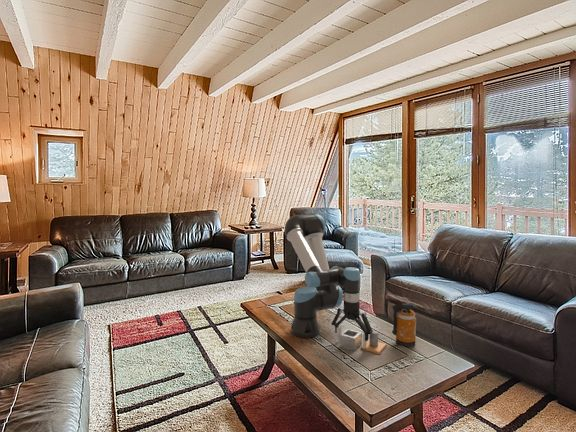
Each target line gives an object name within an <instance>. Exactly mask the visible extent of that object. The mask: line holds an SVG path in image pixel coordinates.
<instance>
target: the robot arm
mask: <svg viewBox="0 0 576 432" xmlns="http://www.w3.org/2000/svg"><path fill="white" fill-rule="evenodd" d="M325 231H326V220H325V219H324V217H323V216H322V215H320V214H319V213H310V214H294V215H292V216H291V217H289V218H288V219H287V221H286V222H285V224H284V235H285V238H286V239H287V241H289V242H290V243H291V245H292V247H293V249H294V251H295V253H296V255H297V257H298V259H299V261H300V263H301V265H302V267H303V269H304V271H305V275H304V281H305V285H304V286H300V287H299V288H297V289H296V290H295V291H294V295H293V306H294V307H293V308H294V310H293V313H294V314H293V315H294V316H293V317H294V318H293V321H292V324H291V327H290V331H291V334H292V335H293V336H294V337H297V338H301V339H303V338H304V339H309V338H315V337H317V336H319V334H320V333H321V328H320V324H319V321H318V317H317V316H318V315H317V312H321V311H325V310H326V311H327V310H331V309H335V308H337V312H336V314H335V316H334V318H333V320H332V322H331V325H332V326H334V333H335V334H336V341H337V342H339V341H340V334H341V333H342V331H341V324H342V323H343V321H345V320H346V319H347V320H351V321H355V323H357V325H358V326H359V327H360V329H361V330H362V331H361V332H362V345H363V348H365V347H366V345H367V341H368V339H370V334H371V333H372V332H373V331H374V330H373V329H372V327H371V324H370V321H369V320H368V317H367V312H366V311H364V312H362V311H360V309H361V307H360V305H361V304H360V296H361V295H360V294H361V293H360V292H361V291H360V288H361V275H360V273H361V272H360V269H359V268H357V267H352V266H349V267H345V268H343V267H340V266H336V265H335V266H332V267H331V268H330V266H329V263H328V258H327V254H326V253H327V252H326V250H325V246H324V242H323V236H324V234H325ZM340 285H342V286H343V289H342V288H341V286H340ZM342 303H343V307H342V306H341V305H342ZM342 313H343V314H344V315H343V316H342V317H341V318H340V319H339V317H340V316H341V314H342ZM338 319H339V320H338Z"/></svg>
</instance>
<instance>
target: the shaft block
mask: <svg viewBox="0 0 576 432" xmlns="http://www.w3.org/2000/svg"><path fill="white" fill-rule="evenodd" d="M372 331H373V332H372V333H371V334H369V338H368V341H367V345H366V347H365V348H363V344H362V345H361V346H360V349H361V350H363V351H367V352H371V353H374V354H378V355H380V354H381V353H382V352H383V351H384V350H385V348H387V343H383V342H380V341H379V332H378V331H377V330H372Z"/></svg>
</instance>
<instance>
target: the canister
mask: <svg viewBox="0 0 576 432" xmlns="http://www.w3.org/2000/svg"><path fill="white" fill-rule="evenodd" d="M413 309H416V305H414V304H413V303H403V302H401V301H400V302H399V303H396V304H395V305H393V306H392V311H393V313H392V314H393V327H392V328H393V329H392V331H391V332H392V334H393V335H394V336H395V342H396V343H398V344H399V345H401V346H406V347H411V346H414V345H415V344H416V335H417V333H416V332H417V331H416V330H417V318H416V313H415V312H414V310H413Z"/></svg>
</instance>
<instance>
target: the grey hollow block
mask: <svg viewBox="0 0 576 432" xmlns="http://www.w3.org/2000/svg"><path fill="white" fill-rule="evenodd" d="M338 342H339V343H338V344H339V347H340V348H344V349H348V350H350V351H353V352H355V351H356V350H358V348H361V346H362V345H363V331H358V330H354V329H350V328H349V327H348V328H345V329H344V330H343V331H341V334H340V340H339V341H338Z"/></svg>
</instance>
